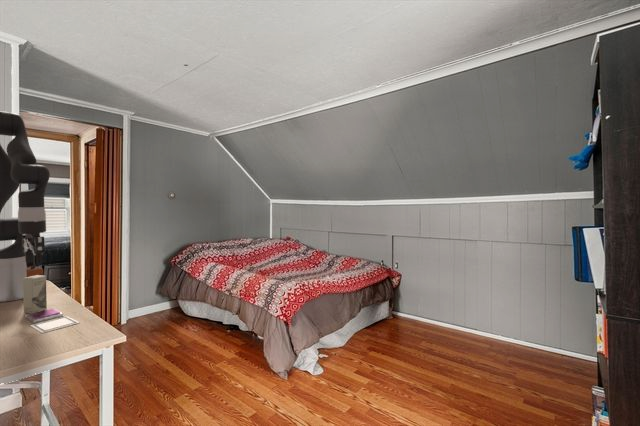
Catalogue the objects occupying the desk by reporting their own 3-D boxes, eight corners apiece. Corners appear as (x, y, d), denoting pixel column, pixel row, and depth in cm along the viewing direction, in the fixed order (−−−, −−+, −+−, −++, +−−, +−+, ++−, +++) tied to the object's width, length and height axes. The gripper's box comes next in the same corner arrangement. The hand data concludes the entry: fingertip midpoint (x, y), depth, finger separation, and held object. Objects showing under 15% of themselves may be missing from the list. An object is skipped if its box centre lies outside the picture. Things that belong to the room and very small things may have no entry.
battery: (22, 289, 146) (21, 267, 145) (41, 286, 151) (40, 265, 151) (24, 291, 143) (23, 269, 143) (44, 288, 148) (43, 266, 148)
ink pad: (25, 318, 113) (25, 314, 113) (53, 311, 119) (53, 307, 119) (34, 323, 108) (33, 319, 108) (62, 316, 115) (62, 312, 115)
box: (32, 314, 117) (31, 278, 116) (23, 313, 118) (21, 278, 117) (47, 309, 122) (46, 275, 121) (38, 308, 123) (37, 274, 122)
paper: (30, 326, 106) (30, 325, 106) (67, 316, 114) (67, 315, 114) (41, 333, 101) (41, 332, 101) (79, 323, 109) (79, 321, 109)
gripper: (12, 219, 119) (13, 263, 119) (25, 221, 111) (27, 268, 112) (38, 218, 125) (39, 260, 126) (52, 219, 117) (54, 264, 118)
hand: (33, 264), depth 119 cm, fingers open, 8 cm apart
